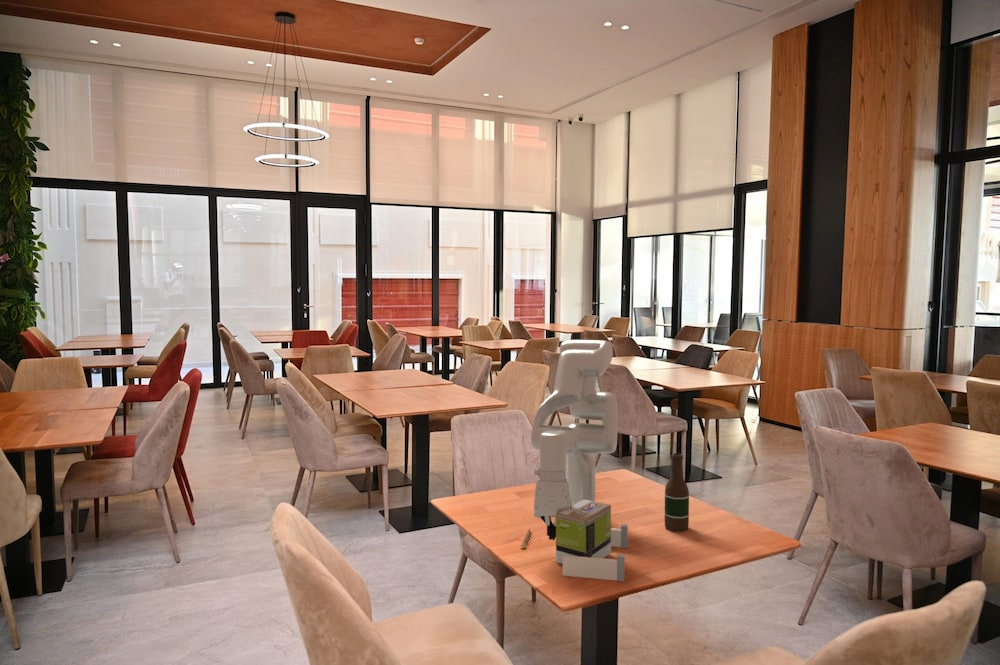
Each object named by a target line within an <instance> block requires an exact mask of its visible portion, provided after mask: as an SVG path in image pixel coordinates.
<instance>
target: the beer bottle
mask: <svg viewBox="0 0 1000 665" xmlns="http://www.w3.org/2000/svg"><path fill="white" fill-rule="evenodd" d="M683 459H684V456H683V454H682V453H672V454H671V470H670V477H669V479H668V481H667V482H666V485H665V486H664V527H665V530H668V531H671V532H675V533H676V532H678V533H684V532H686V531H688V530H689V526H690V525H689V523H690V522H689V517H690V512H689V511H690V510H689V509H690V493H689V492H690V491H689V488H688V485H687V483H686V481H685V479H684V470H683V468H684V467H683Z"/></svg>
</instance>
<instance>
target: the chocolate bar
mask: <svg viewBox="0 0 1000 665" xmlns="http://www.w3.org/2000/svg"><path fill="white" fill-rule="evenodd" d="M531 534H532V535H533V533H532V531H531V529H530V528H528V530H527V531H526V533H525V535H524V537H523V539H524V540H522V542H521V544H522V545H520V546H521V547H523V548H527V549H528V547H527V545H528V546H529V544H528V542H529V540H530V541H531V539H530V537H531ZM531 538H532V537H531ZM529 543H530V542H529ZM523 548H522V549H523Z"/></svg>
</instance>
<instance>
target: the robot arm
mask: <svg viewBox="0 0 1000 665" xmlns="http://www.w3.org/2000/svg"><path fill="white" fill-rule="evenodd" d="M559 352H560V353H559V358H558V363H557V369H556V374H555V378H554V379H555V381H554V386H553V392H552V393H551V394H550V395H549V396H548V397H547V398H546V399H545V400H543V401H542V402H541V404H540V405H539V406H538V408H537V410H536V411H535V414H534V417H533V422H532V427H531V431H530V432H531V433H530V443H531V446H532V447H533V448H534V449H535V450H537V451H539V469H535V470H534V475H537V476H538V478H537V479H536V482H535V488H534V496H533V498H534V501H533V512H534V513H533V517H534V518H538V519H540V520H541V521H543V522H544V523H545V526H546V535H547V536H548V540H552V541H556V512H559V511H560V510H569V509H570V506H571V504H573V503H575V502H577V501H579V500H581V499H584V500H589V501H594V502H596V470H597V469H596V463H595V461H594V458H593V457H592V455H590V453H591V454H592V453H593V454H604V455H609V454H613V453H614V452H616V450H617V445H618V425H619V424H618V422H619V421H618V418H619V417H618V415H619V414H618V413H619V410H618V408H619V407H618V401H617V400H618V399H617V397H616V396H615V394H614V393H613V392H608V391H597V390H596V378H600V377H602V376H604V374H605V373H606V371H607V369H608V368H609V366H610V365H611V362H612V360H613V355H614V353H613V352H614V350H613V345H612V344H611V342H609V341H608V340H602V339H600V340H599V339H567V340H565V341H563V342H561V343H560V346H559ZM567 407H569V414H570V415H571V417H572V418H575V419H578V420H588V421H590V420H591V421H601V423H602V424H601V423H600V424H596V423H587V422H586V423H584V422H576V423H571V424H569V425H567V426H562V425H549V424H548V425H547V424H545V423H546V420H548V418H549V416H551V415H552V414H553V413H554V412H557V411H559V410H562V409H563V408H567ZM552 517H554V520H553V521H552Z"/></svg>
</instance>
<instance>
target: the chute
mask: <svg viewBox="0 0 1000 665" xmlns="http://www.w3.org/2000/svg"><path fill="white" fill-rule="evenodd" d="M620 525H621V526H620V527H621V528H614V527H613V528H612V527H611V547H613V548H614V547H615V548H616V547H617V548H625V549H627V548H628V535H629V534H628V533H629V532H628V526H629V525H628V524H626V523H624V524H620ZM616 558H617V559H616ZM616 558H615V559H614V558H591V557H579V556H567V555H563V564H562V576H563V577H571V578H572V577H575V578H585V579H586V578H587V579H596V580H607V581H617V582H625V554H617V556H616Z"/></svg>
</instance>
